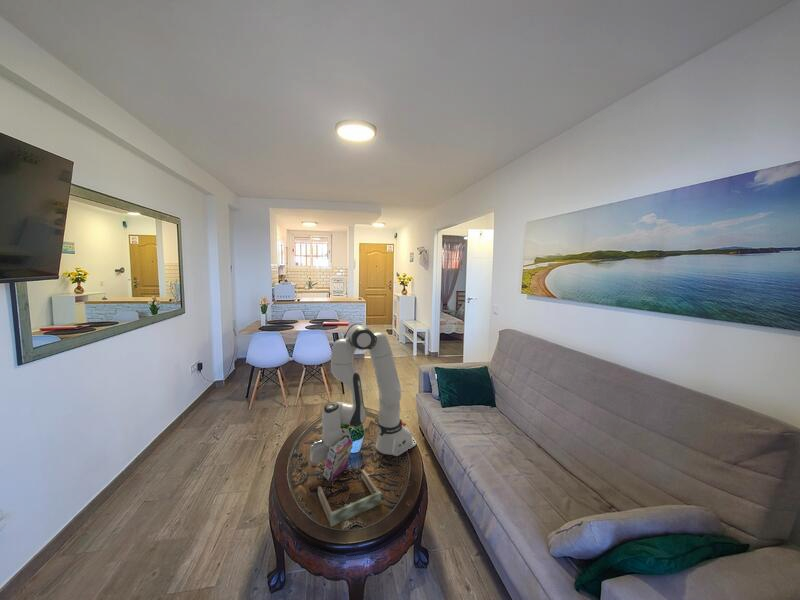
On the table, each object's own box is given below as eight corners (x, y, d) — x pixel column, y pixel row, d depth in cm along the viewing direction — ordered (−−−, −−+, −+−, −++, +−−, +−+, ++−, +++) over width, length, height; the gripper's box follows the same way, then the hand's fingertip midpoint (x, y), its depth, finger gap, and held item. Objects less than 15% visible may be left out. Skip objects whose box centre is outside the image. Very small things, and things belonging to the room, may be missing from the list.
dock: (363, 477, 138) (363, 467, 137) (381, 503, 124) (381, 492, 123) (317, 495, 127) (317, 484, 126) (331, 526, 112) (331, 515, 112)
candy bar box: (329, 482, 134) (335, 454, 129) (322, 475, 136) (328, 447, 132) (347, 468, 143) (353, 441, 138) (339, 462, 146) (346, 435, 141)
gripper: (311, 448, 133) (312, 475, 135) (353, 434, 144) (353, 460, 146) (307, 440, 138) (308, 467, 140) (348, 427, 149) (348, 452, 151)
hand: (331, 463), depth 143 cm, fingers closed
